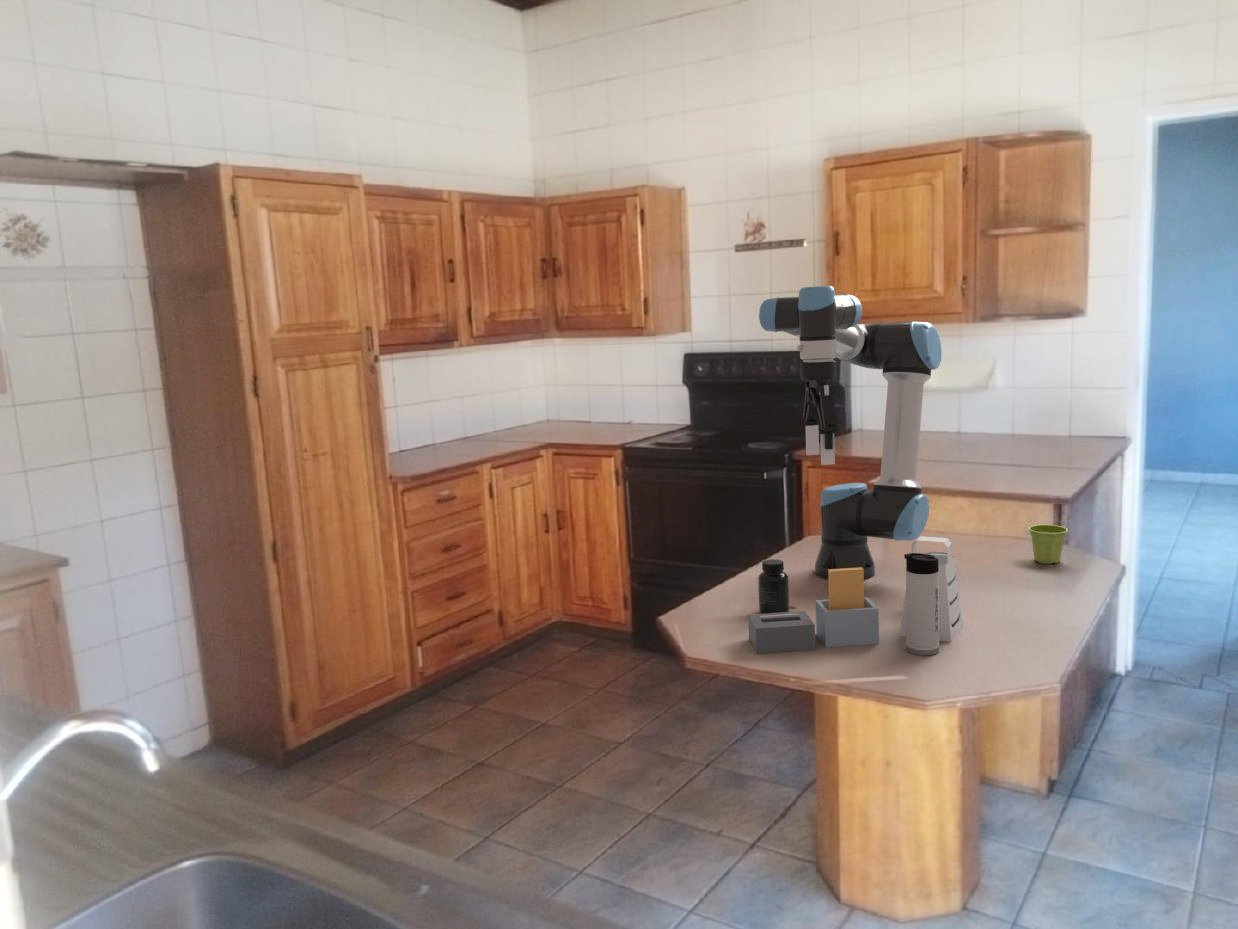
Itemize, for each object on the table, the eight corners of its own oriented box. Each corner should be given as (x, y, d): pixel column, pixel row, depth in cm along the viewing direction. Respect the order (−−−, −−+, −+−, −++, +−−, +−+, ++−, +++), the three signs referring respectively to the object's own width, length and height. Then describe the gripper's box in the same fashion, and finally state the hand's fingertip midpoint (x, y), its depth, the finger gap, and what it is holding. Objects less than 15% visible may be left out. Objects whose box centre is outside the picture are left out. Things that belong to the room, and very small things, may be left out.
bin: (816, 636, 207) (815, 600, 206) (867, 633, 208) (867, 597, 206) (825, 649, 199) (825, 612, 198) (879, 646, 200) (878, 608, 198)
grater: (951, 642, 200) (951, 547, 197) (900, 635, 205) (899, 543, 202) (963, 626, 209) (963, 535, 205) (913, 620, 214) (913, 531, 211)
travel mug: (900, 646, 199) (899, 551, 196) (931, 644, 199) (931, 549, 196) (911, 657, 193) (911, 559, 189) (944, 654, 193) (944, 556, 190)
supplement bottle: (771, 605, 230) (769, 556, 228) (795, 611, 225) (793, 560, 223) (753, 613, 225) (751, 562, 223) (777, 619, 220) (775, 567, 218)
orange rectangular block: (831, 641, 202) (829, 571, 200) (829, 638, 204) (828, 569, 202) (864, 639, 203) (863, 569, 200) (862, 636, 204) (861, 567, 202)
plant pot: (1069, 558, 255) (1070, 526, 254) (1064, 567, 247) (1064, 534, 246) (1031, 555, 260) (1032, 523, 259) (1024, 564, 252) (1025, 531, 251)
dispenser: (756, 656, 197) (755, 626, 196) (749, 641, 206) (748, 612, 205) (815, 653, 198) (814, 622, 197) (805, 638, 207) (804, 608, 206)
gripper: (787, 358, 218) (790, 451, 221) (814, 364, 193) (816, 470, 197) (821, 356, 218) (823, 449, 222) (851, 362, 194) (853, 467, 197)
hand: (820, 459), depth 209 cm, fingers open, 13 cm apart
